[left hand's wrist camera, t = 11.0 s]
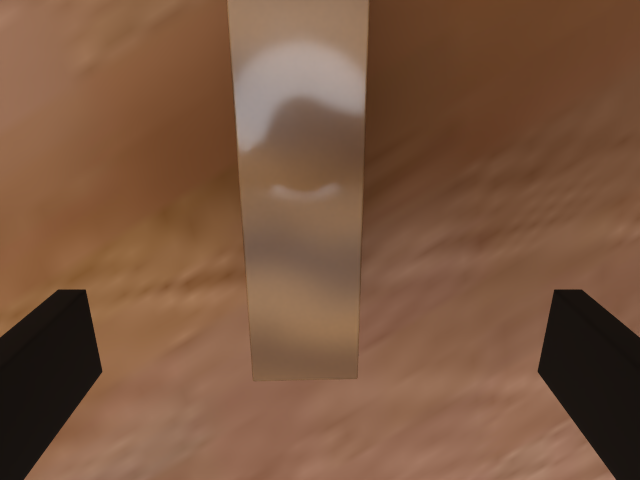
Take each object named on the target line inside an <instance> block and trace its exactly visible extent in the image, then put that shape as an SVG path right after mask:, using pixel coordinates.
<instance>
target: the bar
mask: <svg viewBox="0 0 640 480" xmlns="http://www.w3.org/2000/svg"><path fill="white" fill-rule="evenodd" d="M369 5H370V0H227V14H228V29H229V43H230V57H231V72H232V86H233V101H234V115H235V130H236V144H237V158H238V173H239V187H240V202H241V216H242V230H243V245H244V259H245V274H246V288H247V303H248V317H249V331H250V346H251V360H252V375H253V381H283V380H328V379H357V378H358V349H359V317H360V286H361V255H362V224H363V192H364V161H365V130H366V98H367V67H368V36H369Z"/></svg>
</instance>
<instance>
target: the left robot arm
mask: <svg viewBox="0 0 640 480" xmlns="http://www.w3.org/2000/svg"><path fill="white" fill-rule="evenodd" d="M101 373H102V367H101V362H100V357H99V353H98V348H97V343H96V338H95V333H94V328H93V323H92V318H91V313H90V308H89V304H88V299H87V294H86V290H57V291H56V292H55V293H54V294H52V295H51V296H50V297H49V298H48V299H46V300H45V301H44V302H43V303H42V304H40V305H39V306H38V307H37V308H35V309H34V310H33V311H32V312H31V313H29V314H28V315H27V316H26V317H25V318H23V319H22V320H21V321H20V322H19V323H17V324H16V325H15V326H14V327H12V328H11V329H10V330H9V331H8V332H6V333H5V334H4V335H3V336H2V337H0V480H24V479H25V477H26V476H27V474H28V473H29V472H30V470H31V469H32V468H33V466H34V465H35V463H36V462H37V461H38V459H39V458H40V457H41V455H42V454H43V453H44V451H45V450H46V448H47V447H48V446H49V444H50V443H51V442H52V440H53V439H54V437H55V436H56V435H57V433H58V432H59V431H60V429H61V428H62V426H63V425H64V424H65V422H66V421H67V420H68V418H69V417H70V415H71V414H72V413H73V411H74V410H75V409H76V407H77V406H78V405H79V403H80V402H81V400H82V399H83V398H84V396H85V395H86V394H87V392H88V391H89V389H90V388H91V387H92V385H93V384H94V383H95V381H96V380H97V378H98V377H99V376H100V374H101ZM538 373H539V374H540V376H541V377H542V378H543V380H544V381H545V383H546V384H547V385H548V387H549V388H550V389H551V391H552V392H553V394H554V395H555V396H556V398H557V399H558V400H559V402H560V403H561V405H562V406H563V407H564V409H565V410H566V411H567V413H568V414H569V415H570V417H571V418H572V420H573V421H574V422H575V424H576V425H577V426H578V428H579V429H580V431H581V432H582V433H583V435H584V436H585V437H586V439H587V440H588V442H589V443H590V444H591V446H592V447H593V448H594V450H595V451H596V453H597V454H598V455H599V457H600V458H601V459H602V461H603V462H604V463H605V465H606V466H607V468H608V469H609V470H610V472H611V473H612V474H613V476H614V477H615V479H616V480H640V337H638V336H637V335H636V334H635V333H634V332H632V331H631V330H630V329H629V328H628V327H626V326H625V325H624V324H623V323H621V322H620V321H619V320H618V319H617V318H615V317H614V316H613V315H612V314H611V313H609V312H608V311H607V310H606V309H605V308H603V307H602V306H601V305H600V304H598V303H597V302H596V301H595V300H594V299H592V298H591V297H590V296H589V295H588V294H586V293H585V292H584V291H583V290H554V294H553V299H552V304H551V308H550V313H549V318H548V323H547V328H546V333H545V338H544V343H543V348H542V353H541V357H540V362H539V367H538Z"/></svg>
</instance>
